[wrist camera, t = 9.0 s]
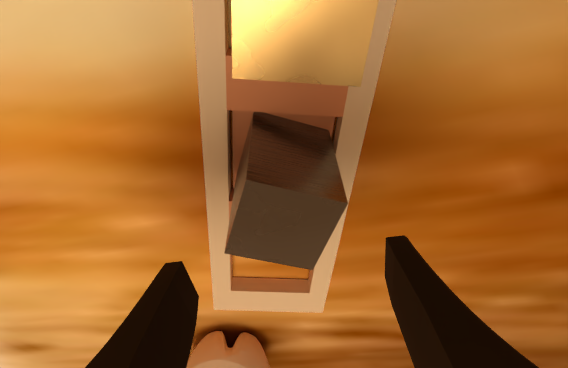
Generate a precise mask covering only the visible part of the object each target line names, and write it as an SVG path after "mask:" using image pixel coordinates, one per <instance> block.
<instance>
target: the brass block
mask: <svg viewBox="0 0 568 368" xmlns="http://www.w3.org/2000/svg"><path fill="white" fill-rule="evenodd" d="M378 1H379V0H231V14H232V78H233V79H248V80H264V81H279V82H294V83H309V84H324V85H339V86H354V87H361V82H362V78H363V73H364V68H365V63H366V59H367V54H368V49H369V44H370V40H371V35H372V30H373V25H374V20H375V16H376V11H377V6H378Z"/></svg>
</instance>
